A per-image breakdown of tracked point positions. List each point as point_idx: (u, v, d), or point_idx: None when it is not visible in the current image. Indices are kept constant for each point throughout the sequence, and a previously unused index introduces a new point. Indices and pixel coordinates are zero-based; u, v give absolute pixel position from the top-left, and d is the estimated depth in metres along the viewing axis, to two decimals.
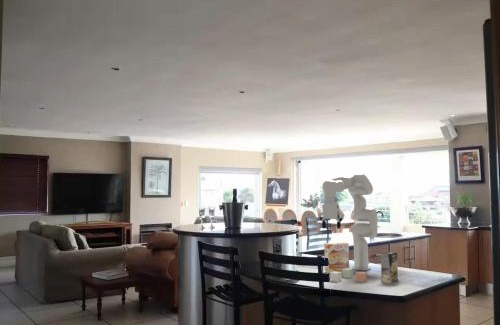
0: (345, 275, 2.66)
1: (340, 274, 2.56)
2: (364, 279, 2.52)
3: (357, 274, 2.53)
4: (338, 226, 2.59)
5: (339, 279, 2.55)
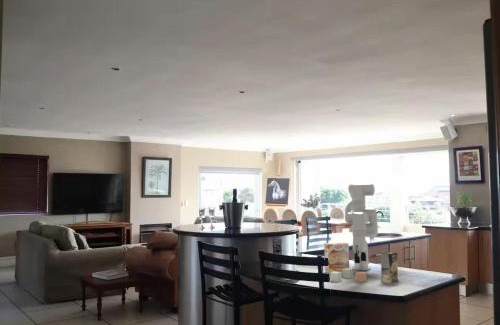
0: (345, 275, 2.66)
1: (340, 274, 2.56)
2: (364, 279, 2.52)
3: (357, 274, 2.53)
4: None
5: (339, 279, 2.55)
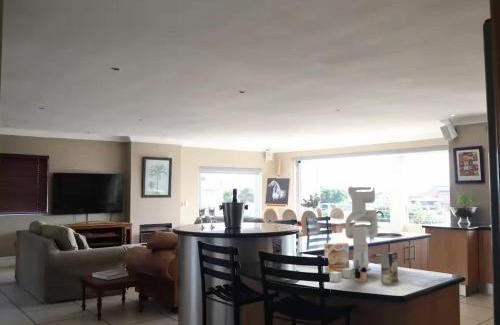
0: (345, 275, 2.66)
1: (340, 274, 2.56)
2: (364, 279, 2.52)
3: None
4: None
5: (339, 279, 2.55)
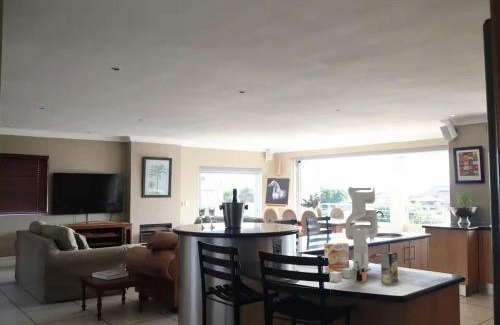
0: (345, 275, 2.66)
1: (340, 274, 2.56)
2: (364, 279, 2.52)
3: None
4: None
5: (339, 279, 2.55)
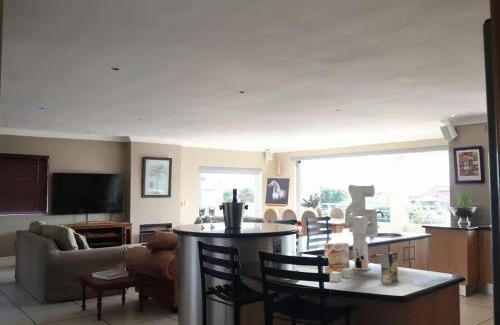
0: (345, 275, 2.66)
1: (340, 274, 2.56)
2: (364, 266, 2.53)
3: None
4: None
5: (339, 279, 2.55)
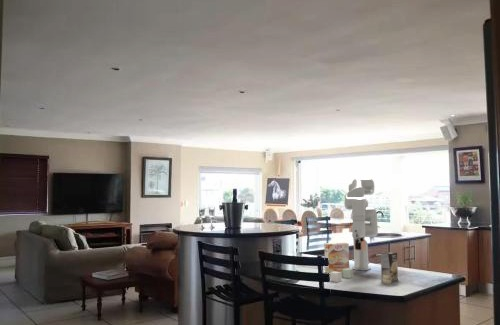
0: (345, 275, 2.66)
1: (340, 274, 2.56)
2: (363, 248, 2.54)
3: None
4: None
5: (339, 279, 2.55)
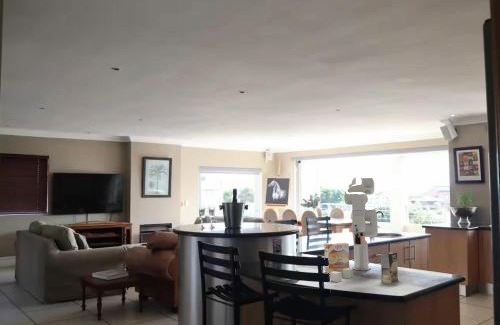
0: (345, 275, 2.66)
1: (340, 274, 2.56)
2: (363, 242, 2.54)
3: None
4: None
5: (339, 279, 2.55)
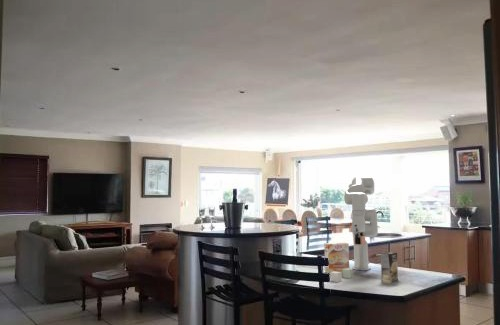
0: (345, 275, 2.66)
1: (340, 274, 2.56)
2: (363, 242, 2.54)
3: None
4: None
5: (339, 279, 2.55)
